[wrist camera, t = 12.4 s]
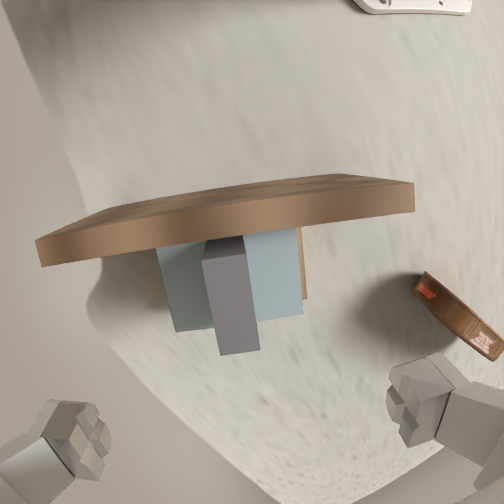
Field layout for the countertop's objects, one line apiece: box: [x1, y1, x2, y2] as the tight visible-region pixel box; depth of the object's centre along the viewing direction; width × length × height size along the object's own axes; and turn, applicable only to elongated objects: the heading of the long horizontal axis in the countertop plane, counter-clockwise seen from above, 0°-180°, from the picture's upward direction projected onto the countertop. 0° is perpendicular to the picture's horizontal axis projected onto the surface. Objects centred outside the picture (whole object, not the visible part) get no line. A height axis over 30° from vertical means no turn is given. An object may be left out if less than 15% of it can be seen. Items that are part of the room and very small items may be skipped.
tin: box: [412, 271, 504, 362], centre depth 27 cm, size 15×3×8 cm, turn 58°
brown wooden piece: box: [35, 174, 415, 300], centre depth 22 cm, size 20×10×12 cm, turn 98°
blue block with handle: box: [156, 227, 303, 356], centre depth 20 cm, size 8×6×10 cm
